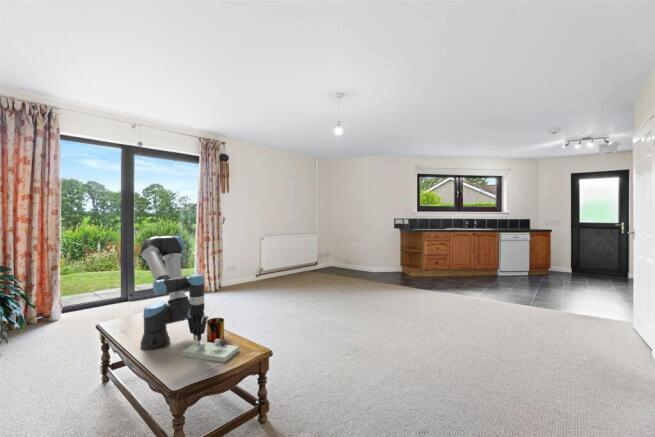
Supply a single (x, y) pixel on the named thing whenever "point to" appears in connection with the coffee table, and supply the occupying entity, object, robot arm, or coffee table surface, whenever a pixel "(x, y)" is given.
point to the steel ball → (201, 346)
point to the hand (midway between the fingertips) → (197, 346)
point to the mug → (215, 329)
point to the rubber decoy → (222, 342)
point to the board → (211, 351)
